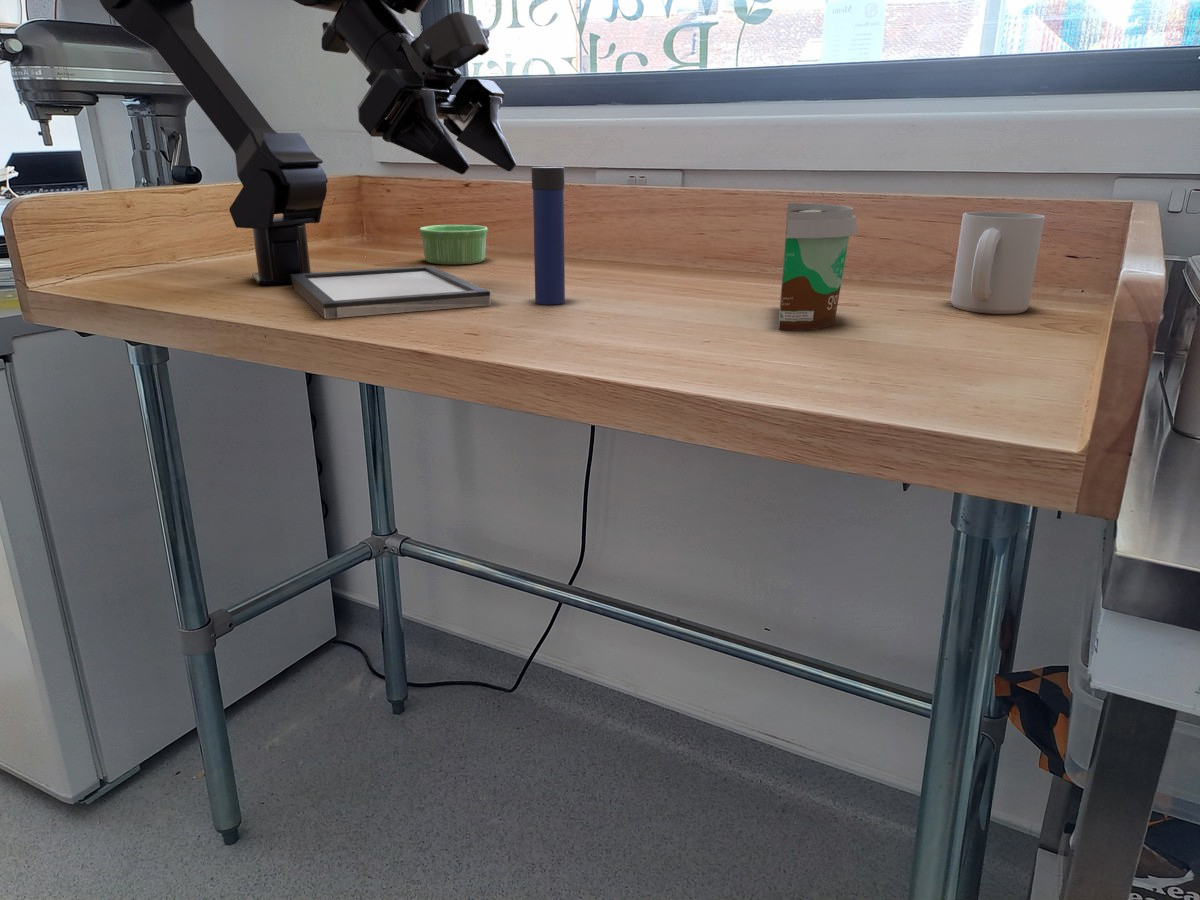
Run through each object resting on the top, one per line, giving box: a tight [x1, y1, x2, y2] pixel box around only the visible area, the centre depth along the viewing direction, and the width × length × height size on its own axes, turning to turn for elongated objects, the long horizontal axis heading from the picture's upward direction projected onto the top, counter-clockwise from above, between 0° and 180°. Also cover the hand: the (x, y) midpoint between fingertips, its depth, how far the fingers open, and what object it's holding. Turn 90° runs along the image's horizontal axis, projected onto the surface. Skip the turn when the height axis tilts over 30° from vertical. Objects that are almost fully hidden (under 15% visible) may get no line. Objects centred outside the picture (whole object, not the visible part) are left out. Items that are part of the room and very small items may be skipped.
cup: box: [950, 211, 1046, 315], centre depth 82 cm, size 7×10×9 cm
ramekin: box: [419, 224, 489, 266], centre depth 115 cm, size 9×9×4 cm
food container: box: [778, 202, 858, 331], centre depth 77 cm, size 12×6×10 cm, turn 168°
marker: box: [531, 166, 566, 306], centre depth 84 cm, size 3×3×13 cm
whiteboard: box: [291, 265, 492, 320], centre depth 90 cm, size 20×16×1 cm
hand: (490, 169), depth 85 cm, fingers open, 9 cm apart
